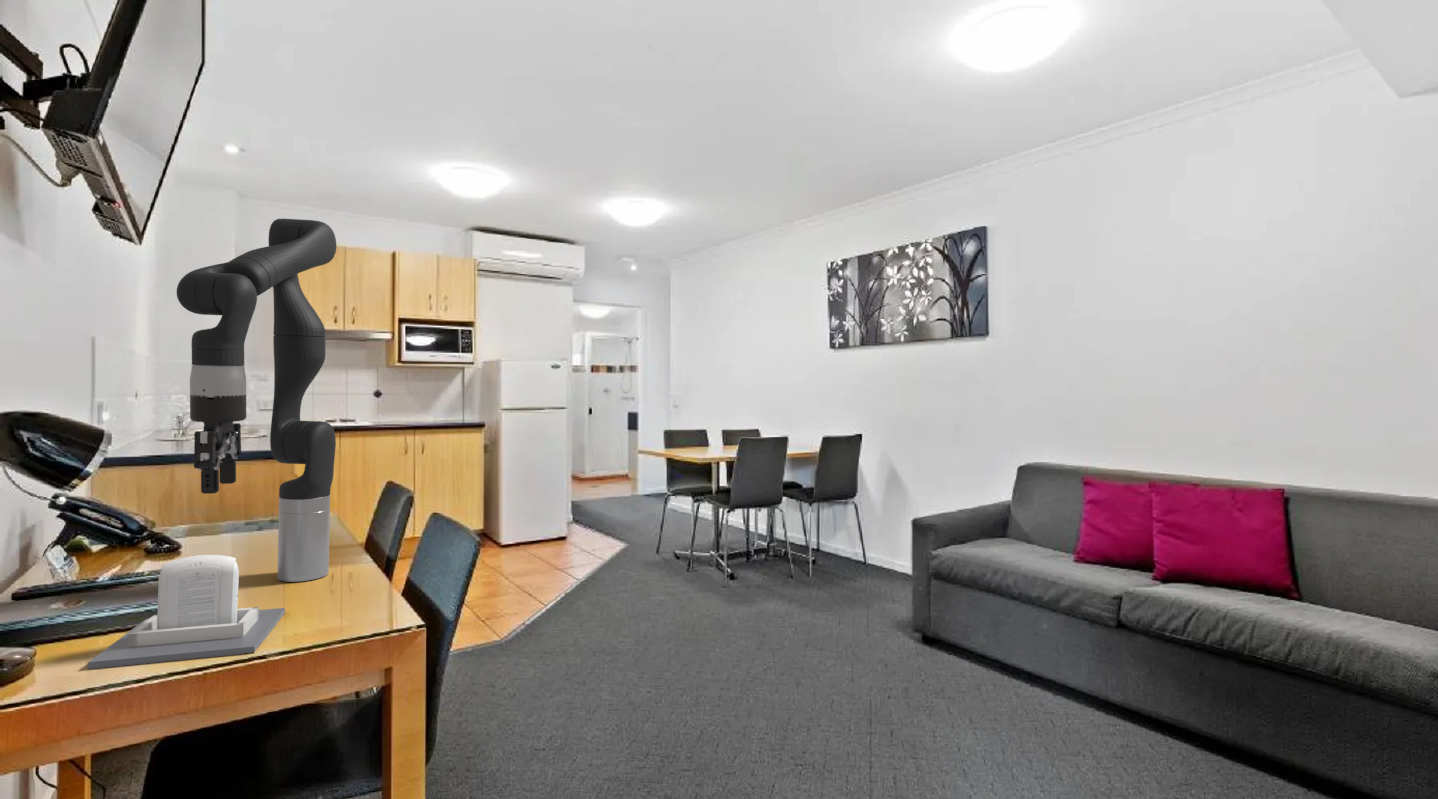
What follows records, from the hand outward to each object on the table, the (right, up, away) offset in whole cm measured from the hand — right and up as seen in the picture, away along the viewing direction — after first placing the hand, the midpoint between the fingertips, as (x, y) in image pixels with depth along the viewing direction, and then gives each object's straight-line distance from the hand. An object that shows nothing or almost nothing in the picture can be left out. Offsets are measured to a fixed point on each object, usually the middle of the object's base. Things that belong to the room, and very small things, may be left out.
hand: (219, 488), depth 110 cm
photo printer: (0, -23, -5) cm, 23 cm away
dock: (0, -24, -5) cm, 24 cm away
